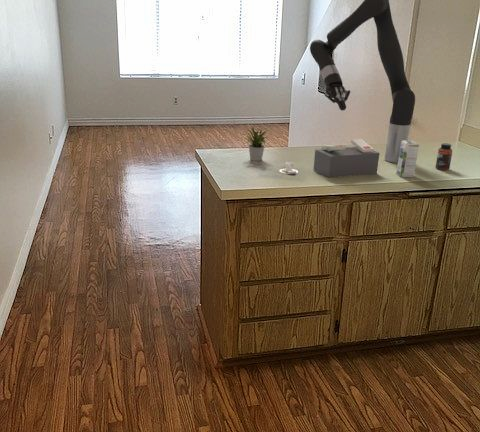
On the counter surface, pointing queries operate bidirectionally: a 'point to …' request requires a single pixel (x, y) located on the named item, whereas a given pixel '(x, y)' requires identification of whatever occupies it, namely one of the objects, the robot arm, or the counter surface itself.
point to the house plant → (256, 144)
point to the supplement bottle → (444, 157)
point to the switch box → (345, 162)
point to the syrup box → (407, 158)
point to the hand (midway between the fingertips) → (343, 109)
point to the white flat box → (361, 145)
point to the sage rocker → (333, 147)
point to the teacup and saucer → (289, 168)
